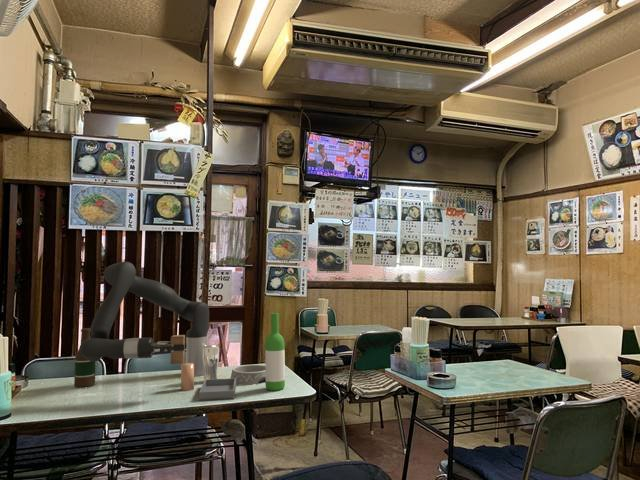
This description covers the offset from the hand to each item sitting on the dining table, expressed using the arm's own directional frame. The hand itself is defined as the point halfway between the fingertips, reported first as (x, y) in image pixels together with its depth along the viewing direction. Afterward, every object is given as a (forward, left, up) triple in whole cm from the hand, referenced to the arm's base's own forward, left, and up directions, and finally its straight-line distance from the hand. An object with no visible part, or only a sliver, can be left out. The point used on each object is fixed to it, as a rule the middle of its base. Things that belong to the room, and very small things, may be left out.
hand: (185, 346), depth 176 cm
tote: (-4, +12, -19) cm, 23 cm away
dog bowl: (-23, +24, -20) cm, 39 cm away
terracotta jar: (-12, -1, -19) cm, 22 cm away
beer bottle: (-26, -45, -19) cm, 55 cm away
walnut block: (0, -3, -6) cm, 7 cm away
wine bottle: (-6, +34, -19) cm, 40 cm away
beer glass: (-24, +7, -19) cm, 32 cm away
